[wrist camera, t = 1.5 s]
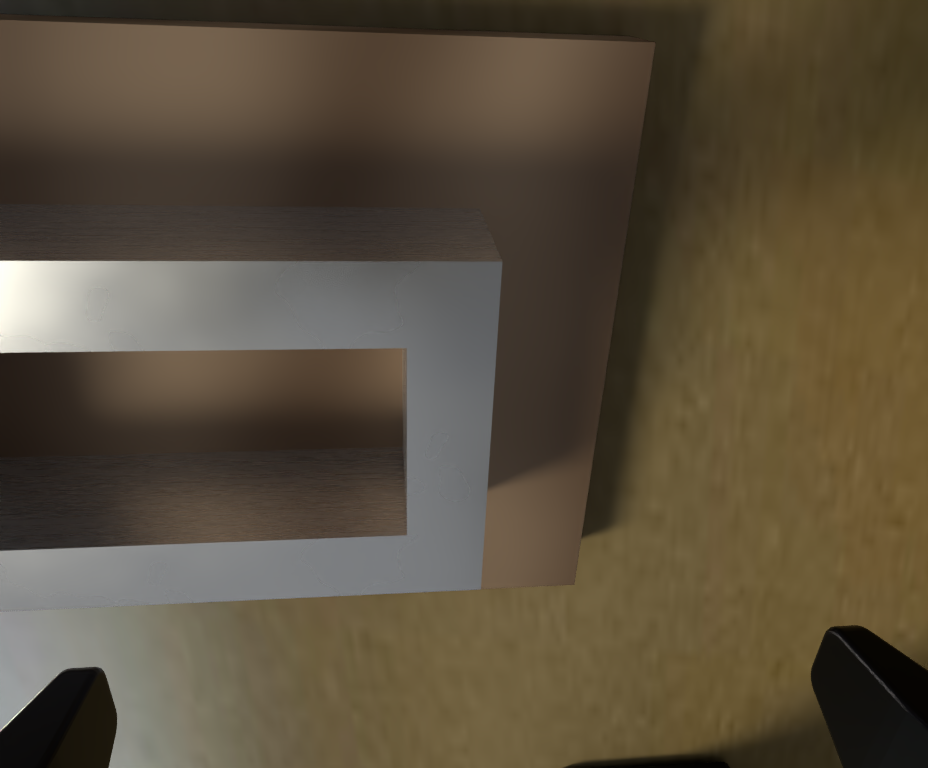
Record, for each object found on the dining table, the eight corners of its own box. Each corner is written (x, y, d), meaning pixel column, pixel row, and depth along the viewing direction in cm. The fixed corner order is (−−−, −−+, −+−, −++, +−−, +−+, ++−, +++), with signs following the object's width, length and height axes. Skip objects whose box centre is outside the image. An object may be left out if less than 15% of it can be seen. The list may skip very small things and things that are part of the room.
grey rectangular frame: (479, 208, 14) (502, 261, 11) (465, 497, 17) (481, 588, 15) (-199, 202, 13) (-348, 260, 10) (-72, 515, 16) (-158, 619, 14)
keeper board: (630, 35, 14) (655, 42, 13) (561, 546, 21) (574, 584, 19) (-823, -15, 12) (-974, -14, 10) (-391, 584, 18) (-452, 632, 17)
